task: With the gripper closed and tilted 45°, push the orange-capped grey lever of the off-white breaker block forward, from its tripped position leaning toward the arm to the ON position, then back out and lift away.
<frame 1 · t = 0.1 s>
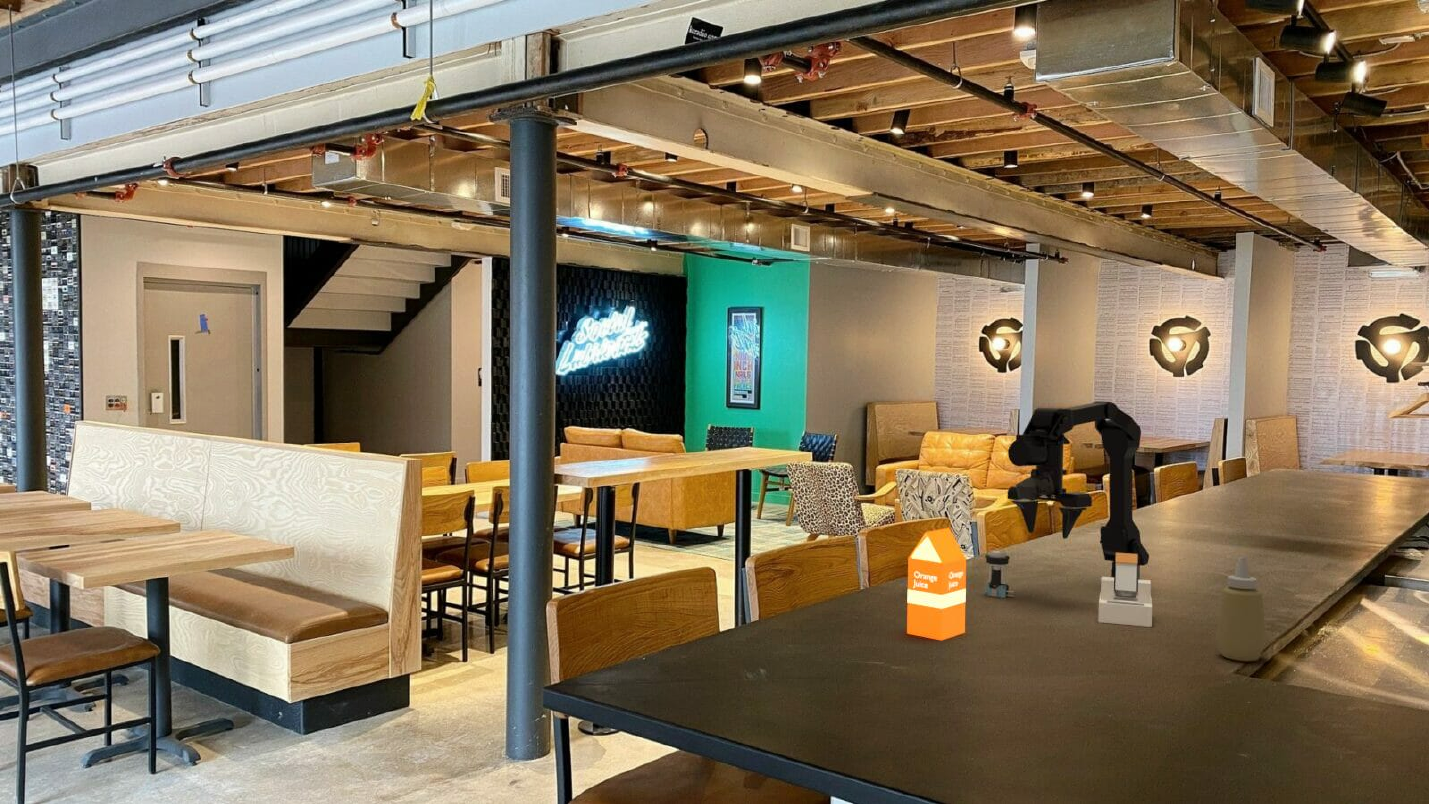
hand: (1047, 535, 232), 15 cm above the table, tool pointing down, fingers open, 9 cm apart
orange juice: (935, 634, 203), on the table
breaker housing: (1125, 618, 217), on the table
squeeze bottle: (1240, 659, 188), on the table
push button: (999, 597, 238), on the table
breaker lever: (1126, 576, 218), point 9 cm above the table, hinge at -30.0°
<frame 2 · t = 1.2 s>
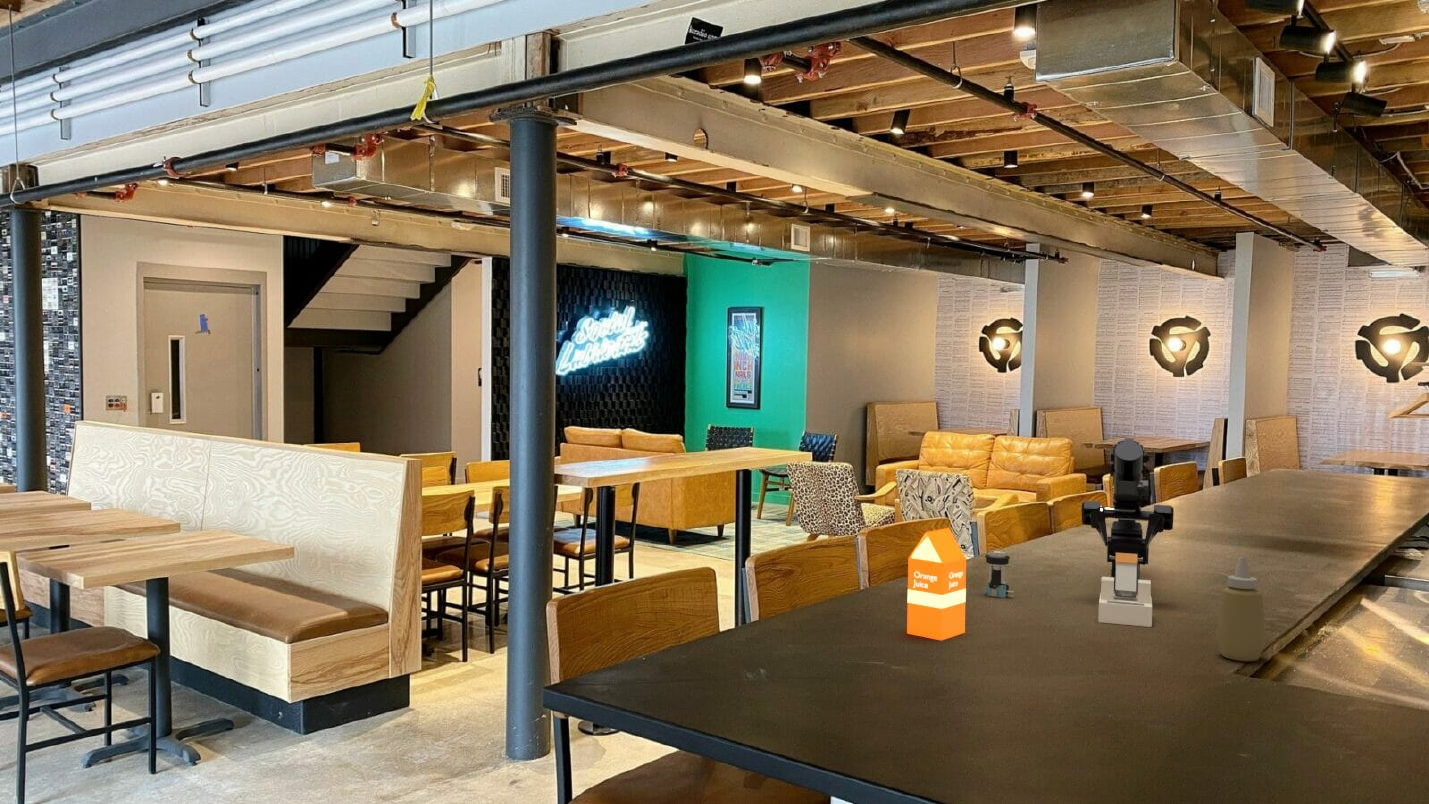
hand: (1125, 546, 226), 13 cm above the table, tool tilted 45°, fingers open, 8 cm apart
nothing on the table moved.
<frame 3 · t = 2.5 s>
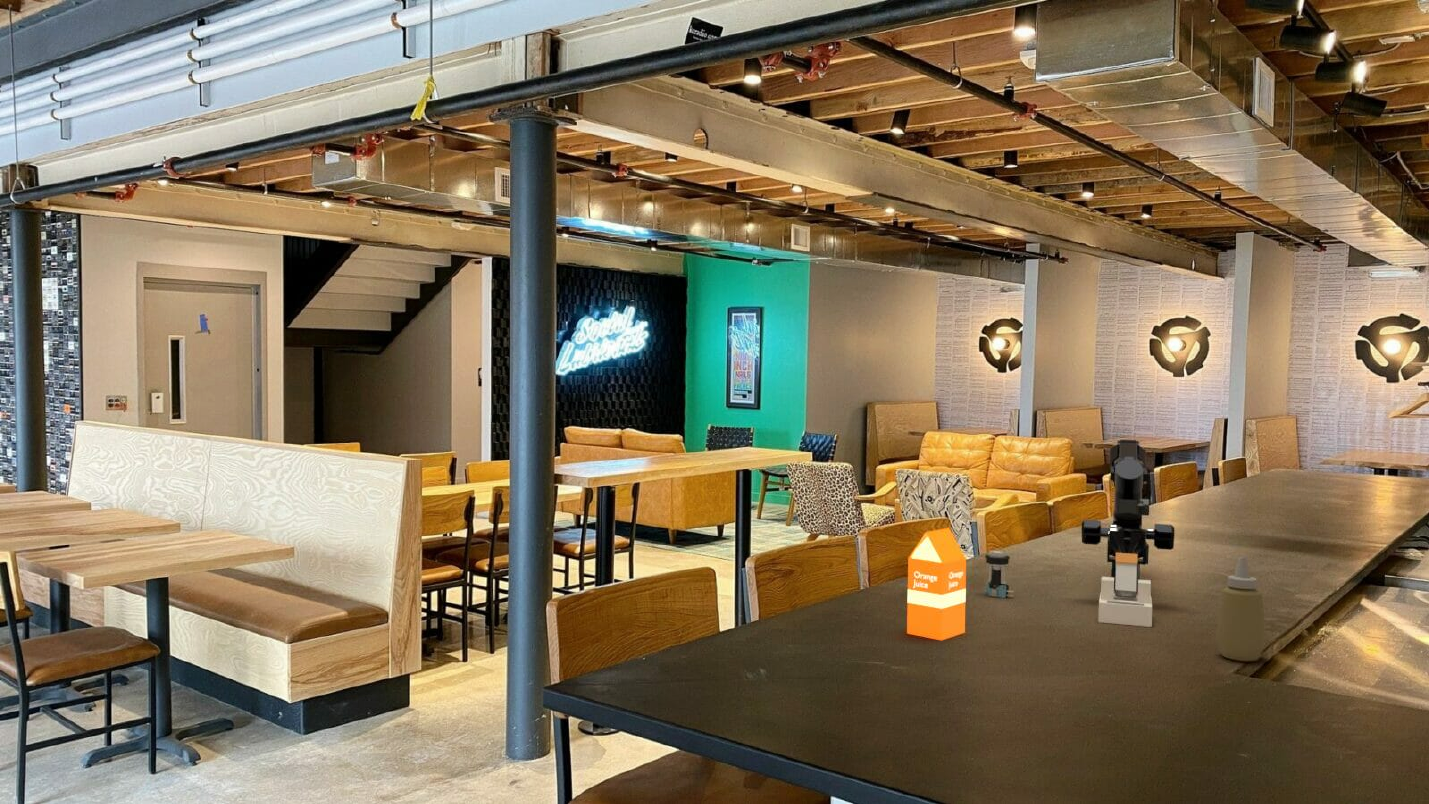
hand: (1126, 566, 224), 10 cm above the table, tool tilted 45°, fingers closed
nothing on the table moved.
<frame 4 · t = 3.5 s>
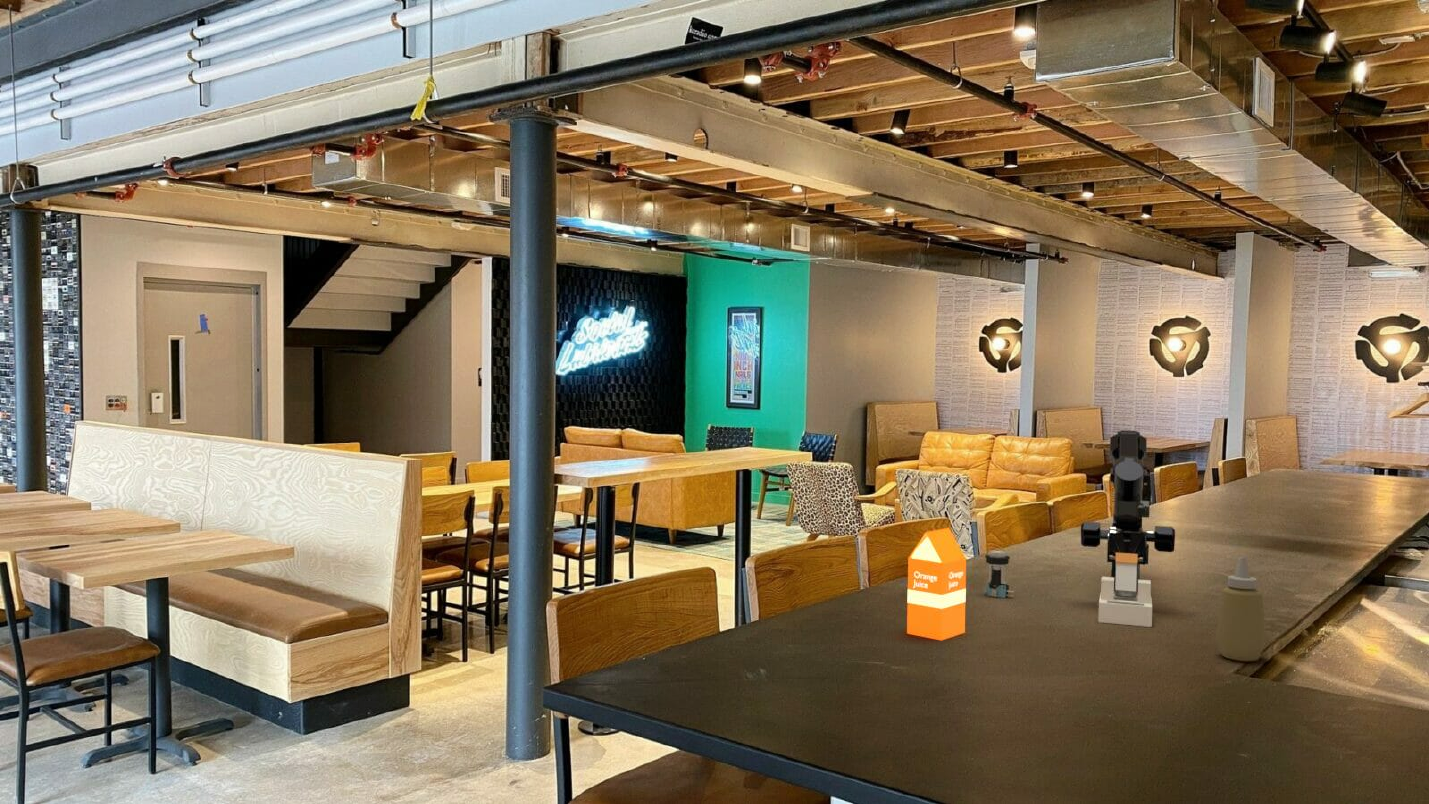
hand: (1126, 568, 221), 10 cm above the table, tool tilted 45°, fingers closed, pressing on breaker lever
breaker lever: (1126, 576, 218), point 9 cm above the table, hinge at -29.5°, touching gripper
everything else where it was.
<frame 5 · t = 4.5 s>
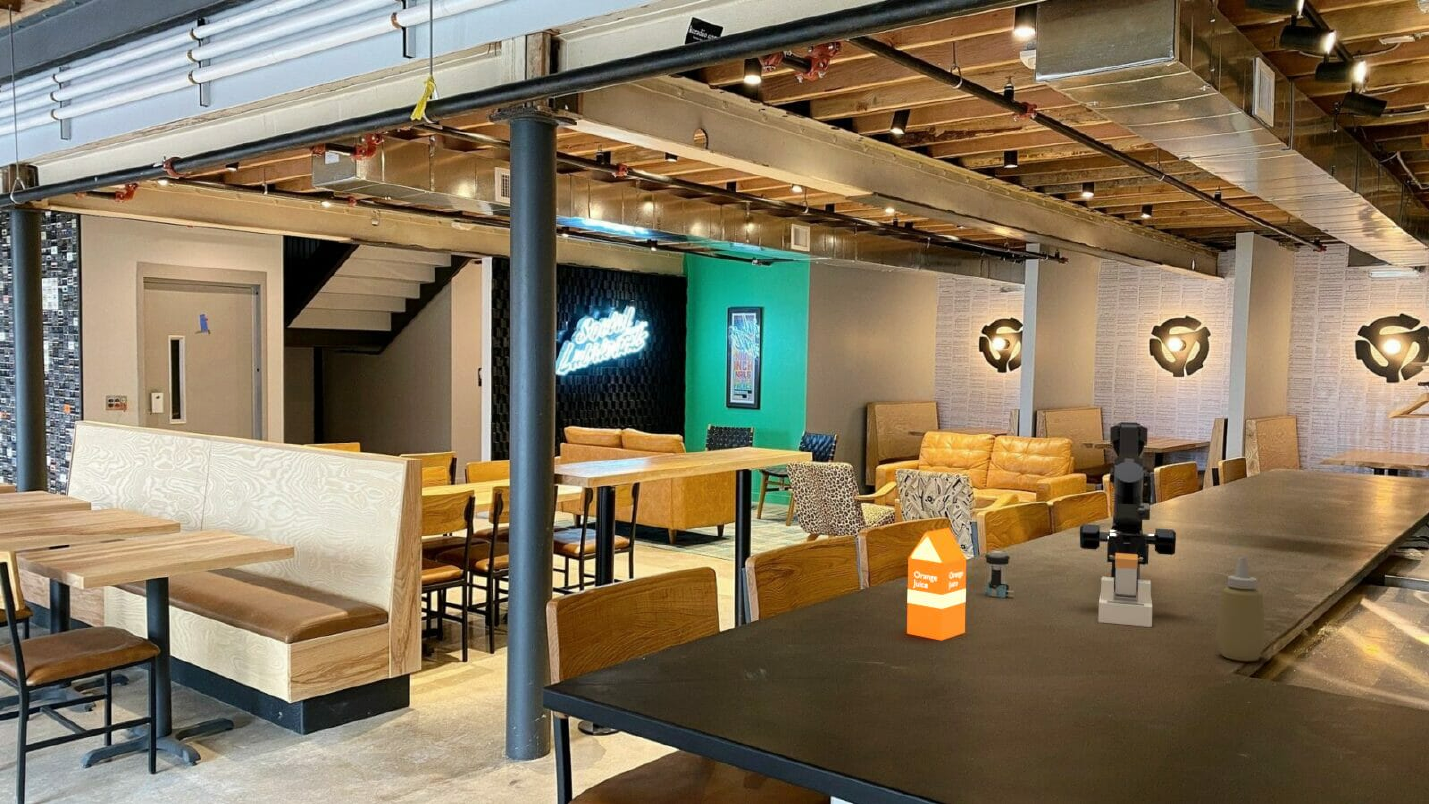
hand: (1126, 572, 217), 10 cm above the table, tool tilted 45°, fingers closed, pressing on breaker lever
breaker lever: (1126, 576, 216), point 9 cm above the table, hinge at 14.9°, touching gripper
everything else where it was.
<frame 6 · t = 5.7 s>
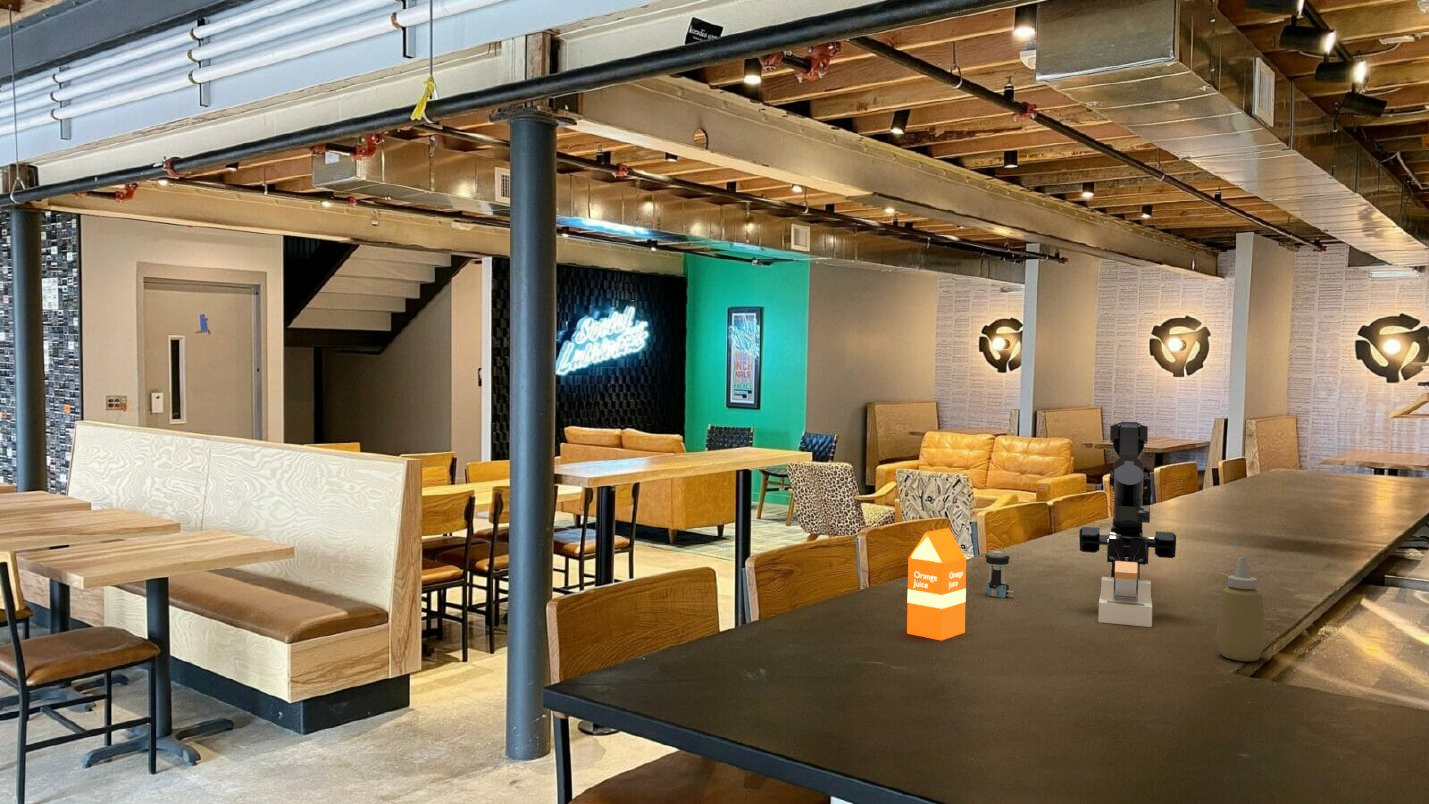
hand: (1126, 575, 215), 9 cm above the table, tool tilted 45°, fingers closed
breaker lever: (1125, 581, 215), point 8 cm above the table, hinge at 40.6°
everything else where it was.
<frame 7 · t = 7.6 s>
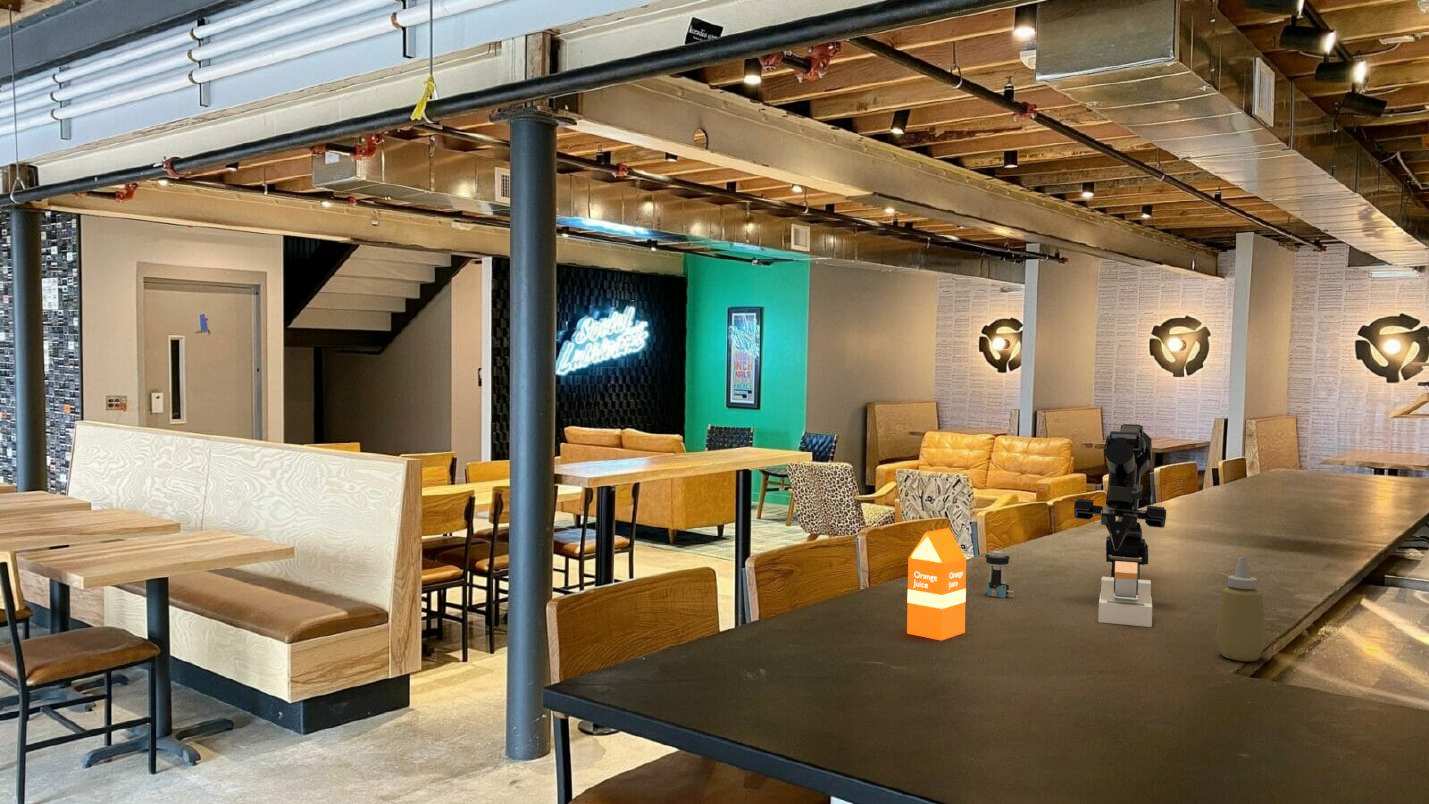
hand: (1116, 549, 228), 12 cm above the table, tool tilted 30°, fingers closed
nothing on the table moved.
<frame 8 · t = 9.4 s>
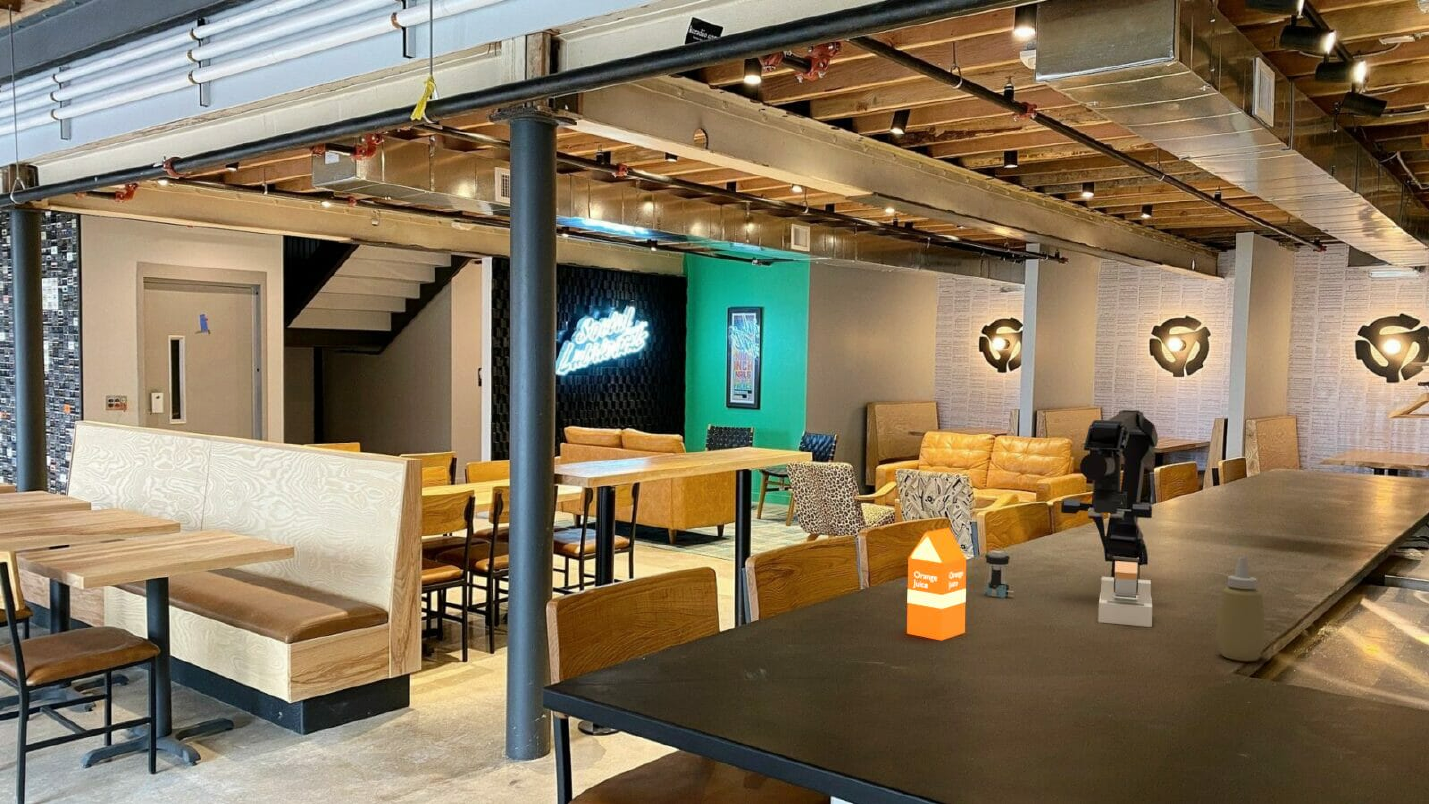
hand: (1105, 546, 234), 12 cm above the table, tool pointing down, fingers closed
nothing on the table moved.
at the end: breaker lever at +41° (first picture: -30°); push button moved 0.2 cm from its start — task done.
